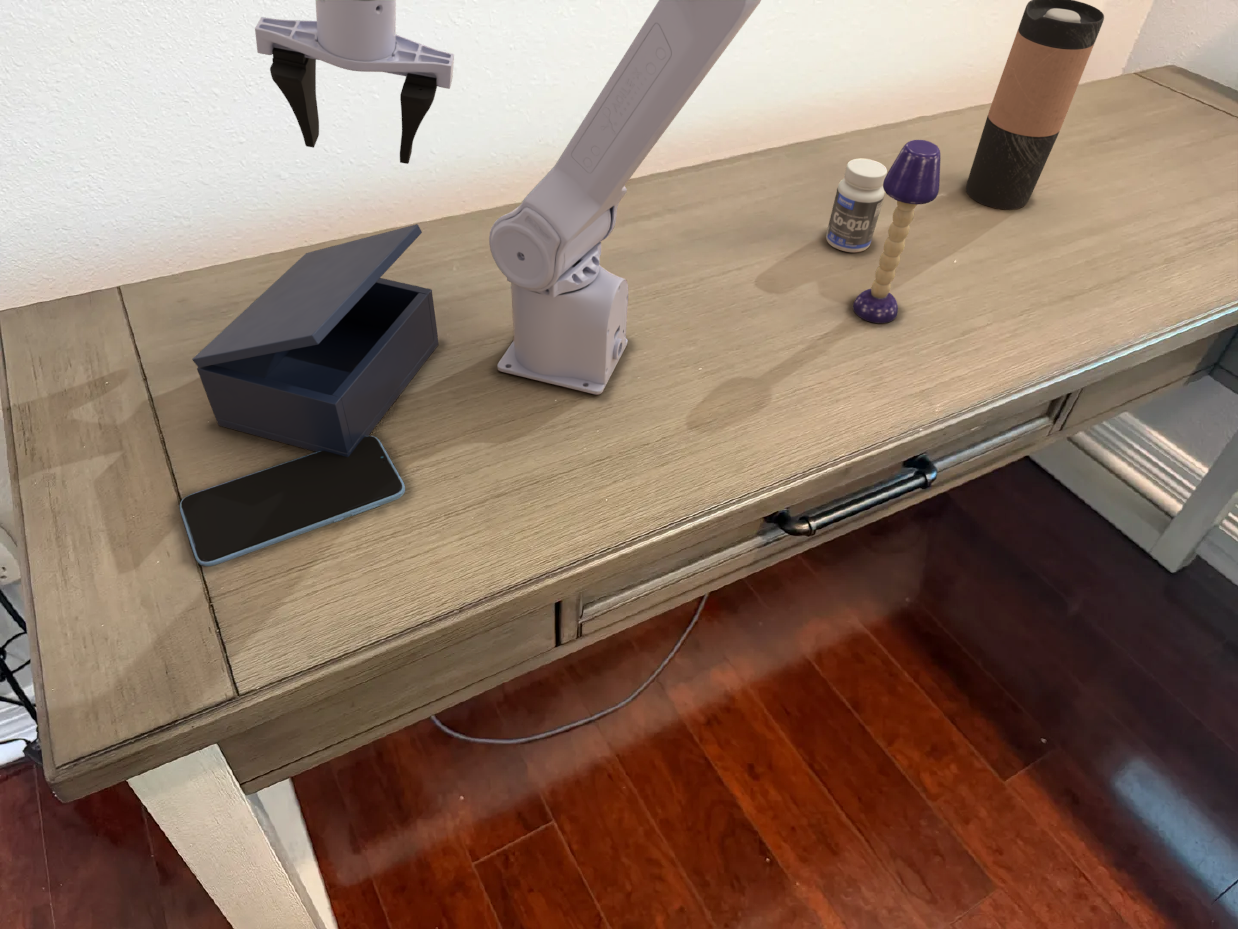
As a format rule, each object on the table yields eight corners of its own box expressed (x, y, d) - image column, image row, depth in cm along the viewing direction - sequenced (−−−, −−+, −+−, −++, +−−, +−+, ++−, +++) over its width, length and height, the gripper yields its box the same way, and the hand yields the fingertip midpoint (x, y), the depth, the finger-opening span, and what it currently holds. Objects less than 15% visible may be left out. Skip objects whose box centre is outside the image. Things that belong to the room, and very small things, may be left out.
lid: (422, 232, 71) (417, 223, 71) (318, 344, 60) (311, 335, 60) (311, 260, 77) (306, 252, 76) (198, 367, 66) (191, 359, 66)
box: (439, 344, 79) (432, 289, 75) (349, 461, 68) (335, 404, 64) (322, 316, 81) (309, 261, 77) (217, 425, 70) (196, 368, 66)
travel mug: (1038, 190, 104) (1113, 7, 90) (1021, 218, 99) (1097, 29, 85) (974, 171, 107) (1036, -9, 92) (954, 197, 102) (1017, 11, 88)
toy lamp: (904, 327, 84) (959, 159, 72) (855, 327, 83) (903, 158, 72) (890, 297, 87) (940, 132, 75) (843, 297, 87) (887, 131, 75)
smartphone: (175, 497, 65) (374, 430, 70) (178, 505, 65) (376, 438, 71) (197, 567, 60) (409, 490, 66) (201, 575, 61) (410, 498, 66)
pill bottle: (820, 246, 93) (838, 171, 87) (830, 225, 96) (848, 151, 90) (865, 257, 92) (886, 182, 86) (874, 236, 95) (895, 161, 89)
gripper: (462, -22, 68) (451, 138, 79) (265, -62, 66) (281, 107, 76) (451, 20, 64) (442, 184, 74) (239, -22, 62) (260, 153, 72)
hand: (359, 148), depth 75 cm, fingers open, 7 cm apart
